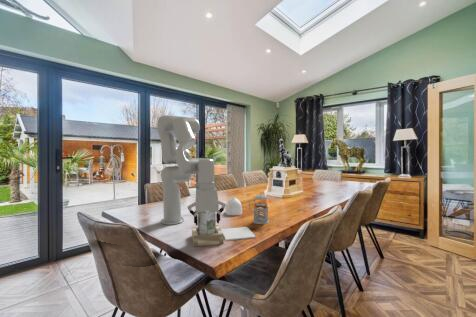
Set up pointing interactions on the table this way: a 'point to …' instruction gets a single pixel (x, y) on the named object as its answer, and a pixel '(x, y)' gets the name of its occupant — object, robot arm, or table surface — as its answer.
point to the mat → (237, 233)
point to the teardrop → (233, 207)
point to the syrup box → (206, 223)
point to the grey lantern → (260, 210)
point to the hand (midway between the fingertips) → (207, 223)
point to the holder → (207, 237)
